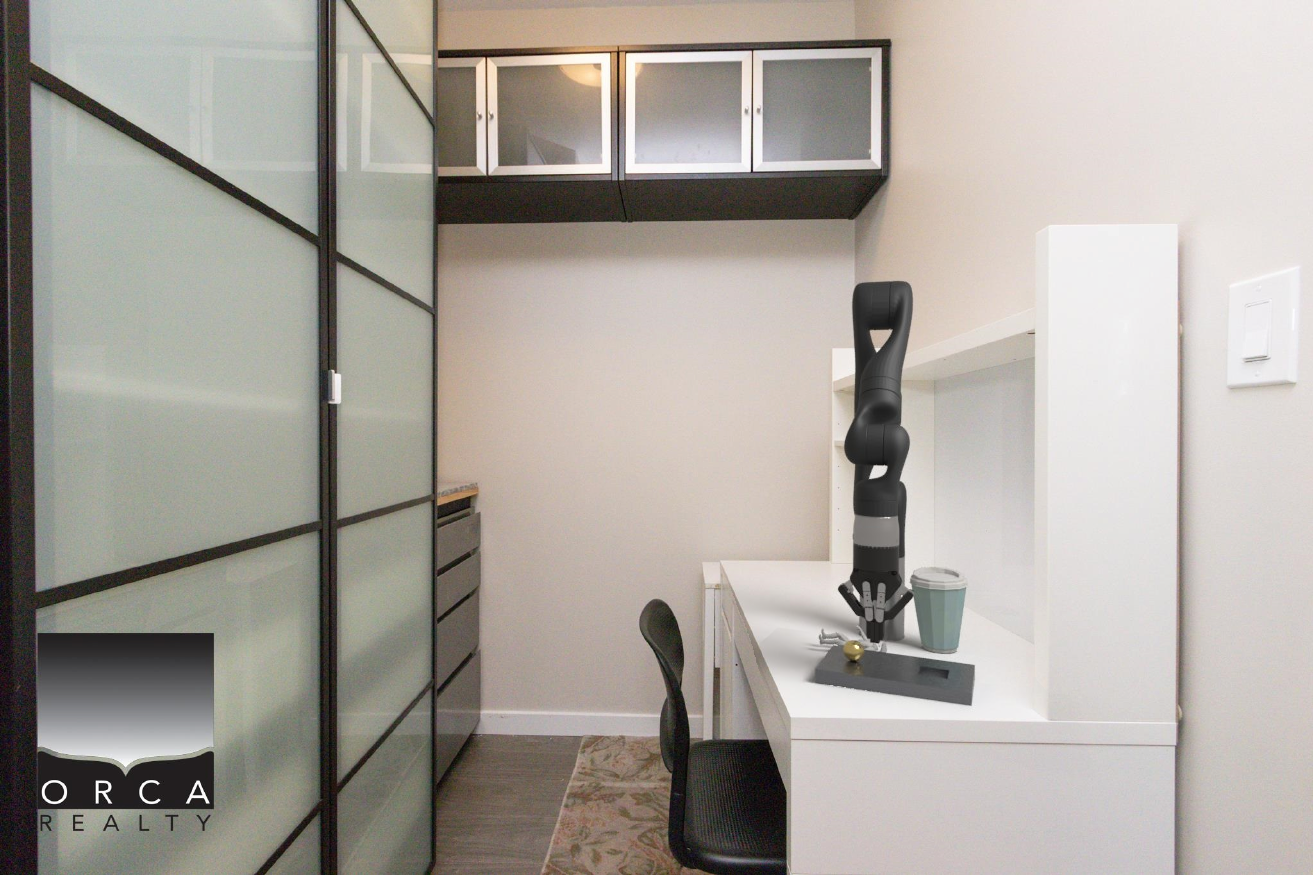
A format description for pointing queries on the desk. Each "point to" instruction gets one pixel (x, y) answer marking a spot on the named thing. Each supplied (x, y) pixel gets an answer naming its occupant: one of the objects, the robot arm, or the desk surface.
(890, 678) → the bore plate
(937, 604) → the disposable coffee cup
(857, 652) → the brass knob
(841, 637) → the soldier figure
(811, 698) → the desk surface
